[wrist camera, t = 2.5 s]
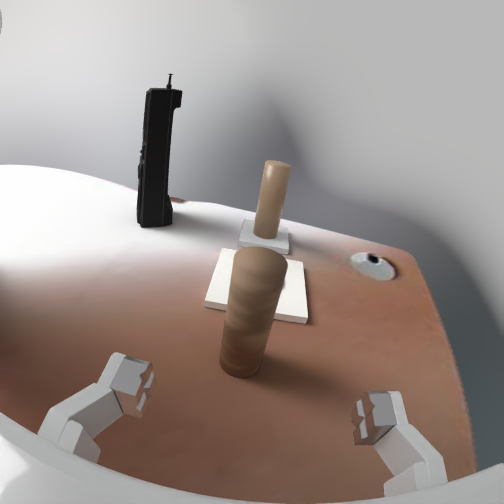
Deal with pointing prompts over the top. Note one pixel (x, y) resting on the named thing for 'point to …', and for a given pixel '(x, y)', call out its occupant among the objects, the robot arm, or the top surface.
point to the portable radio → (156, 157)
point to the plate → (291, 295)
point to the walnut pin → (251, 308)
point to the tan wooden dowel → (269, 211)
